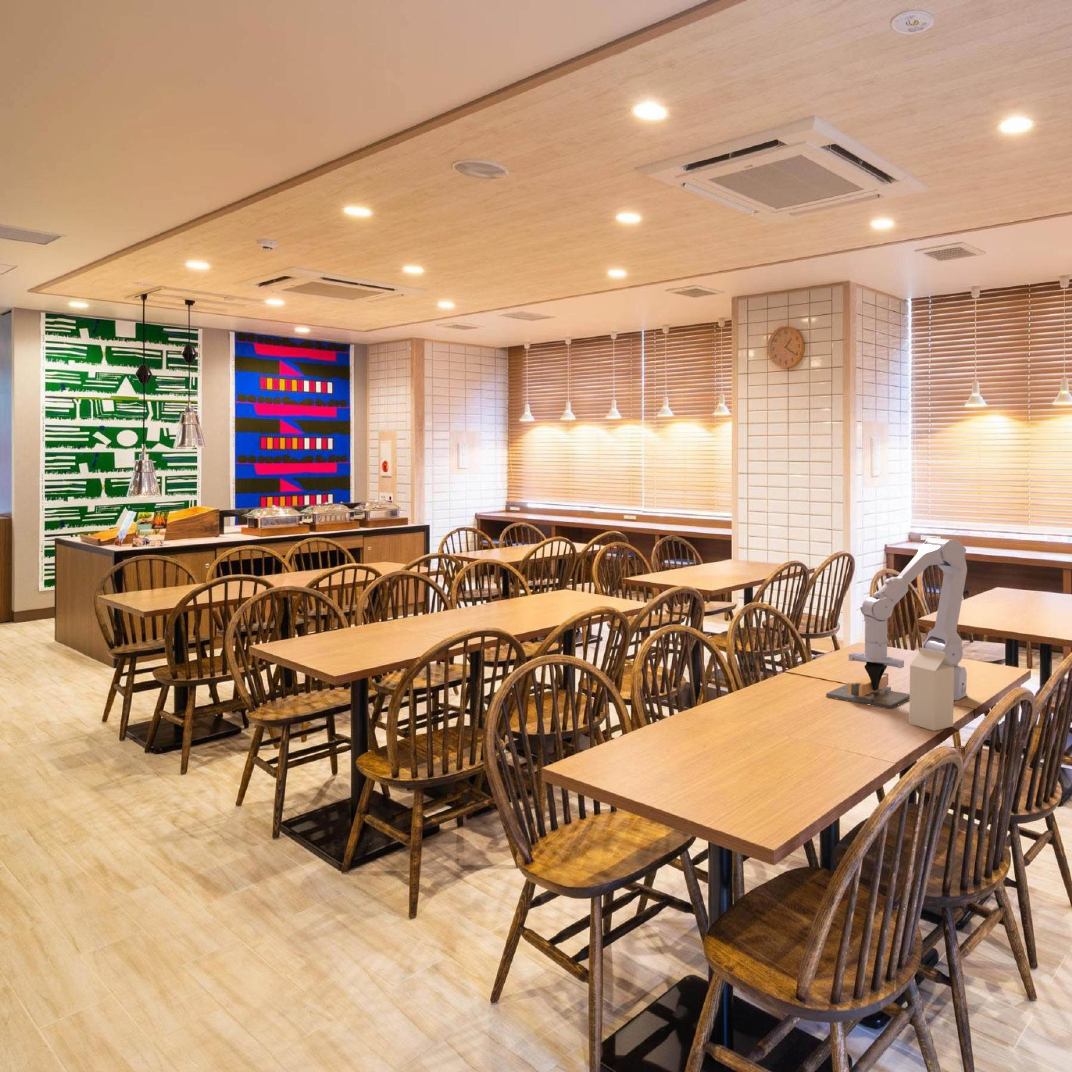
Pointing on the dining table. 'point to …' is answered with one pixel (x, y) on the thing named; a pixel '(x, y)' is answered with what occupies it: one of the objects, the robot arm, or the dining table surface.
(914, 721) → the milk carton
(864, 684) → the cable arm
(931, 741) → the dining table surface
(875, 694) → the server tray
